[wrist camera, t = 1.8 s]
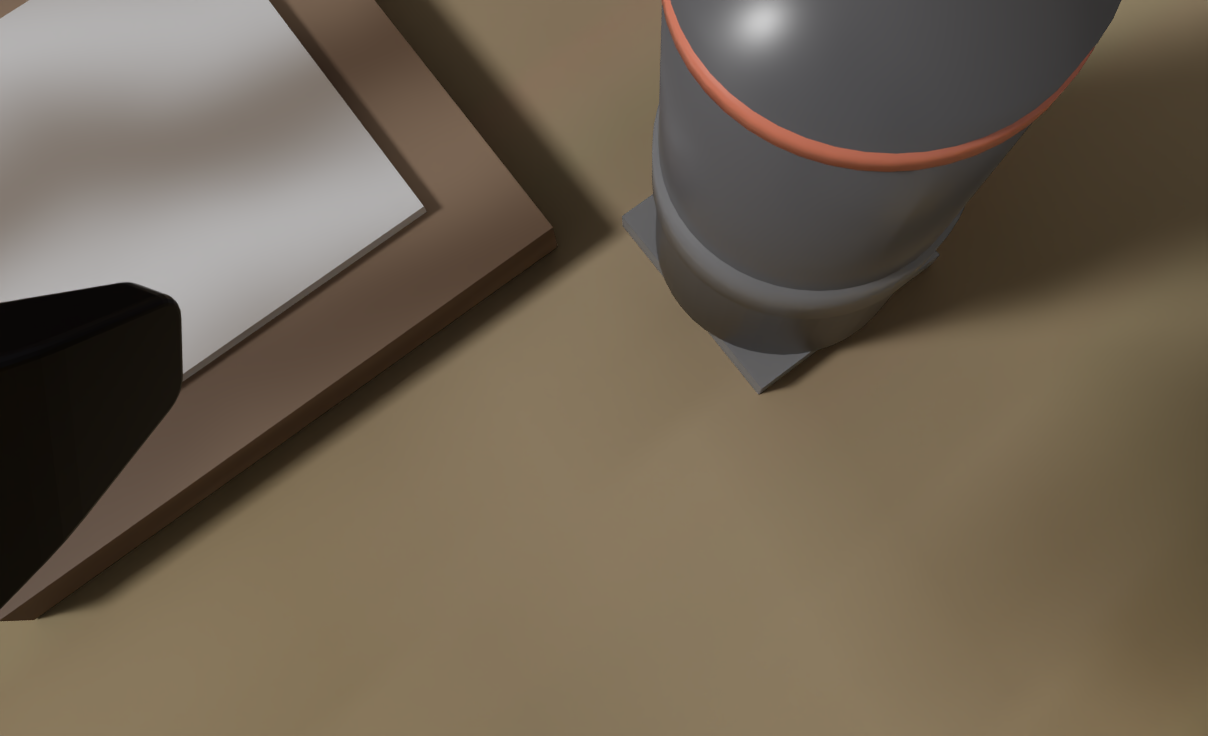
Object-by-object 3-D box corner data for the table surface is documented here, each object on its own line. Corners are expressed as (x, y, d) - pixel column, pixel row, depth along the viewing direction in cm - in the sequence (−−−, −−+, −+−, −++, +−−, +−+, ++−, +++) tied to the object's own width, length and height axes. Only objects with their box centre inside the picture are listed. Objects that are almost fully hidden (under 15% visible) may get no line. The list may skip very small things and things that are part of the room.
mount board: (557, 246, 22) (551, 222, 21) (33, 619, 21) (-12, 621, 19) (243, -156, 25) (219, -202, 24) (-236, 147, 24) (-293, 118, 22)
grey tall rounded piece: (953, 266, 22) (1247, -48, 11) (755, 416, 21) (867, 234, 11) (793, 86, 23) (920, -354, 12) (601, 223, 23) (561, -115, 12)
